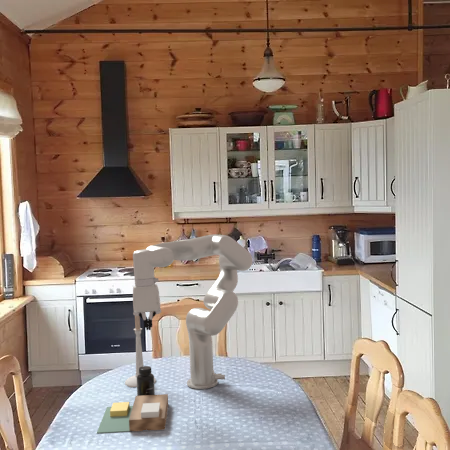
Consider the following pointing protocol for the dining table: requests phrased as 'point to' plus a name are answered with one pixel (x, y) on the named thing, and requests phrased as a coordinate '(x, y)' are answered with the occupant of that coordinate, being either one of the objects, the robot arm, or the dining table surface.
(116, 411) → the yellow rectangular block
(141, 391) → the supplement bottle
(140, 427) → the board
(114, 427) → the mat
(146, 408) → the white flat block
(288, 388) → the dining table surface
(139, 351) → the candlestick
